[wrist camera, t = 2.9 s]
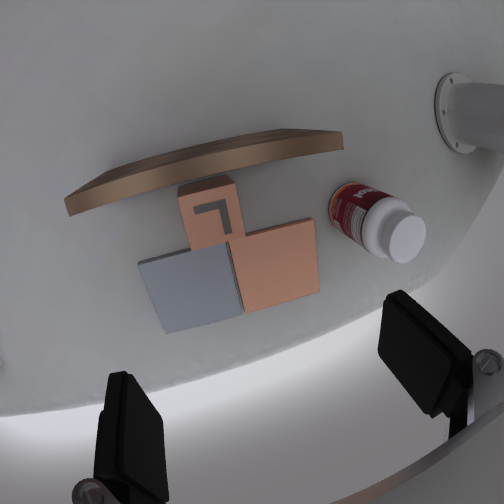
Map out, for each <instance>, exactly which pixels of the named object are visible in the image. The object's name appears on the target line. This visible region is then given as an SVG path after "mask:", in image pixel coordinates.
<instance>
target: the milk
mask: <svg viewBox="0 0 504 504" xmlns="http://www.w3.org/2000/svg"><path fill="white" fill-rule="evenodd" d="M3 362H4V360H3V357H2V354H1V350H0V367H1V365H2V363H3Z"/></svg>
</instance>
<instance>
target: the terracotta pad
mask: <svg viewBox="0 0 504 504" xmlns="http://www.w3.org/2000/svg"><path fill="white" fill-rule="evenodd" d="M245 235H246V237H244V238H240V239H236V240H232V241H228V243H229V247H230V251H231V256H232V260H233V264H234V269H235V273H236V277H237V281H238V286H239V290H240V294H241V298H242V302H243V307H244V310H245V313H250V312H253V311H257V310H260V309H264V308H267V307H271V306H274V305H277V304H281V303H284V302H287V301H291V300H294V299H297V298H300V297H304V296H307V295H310V294H313V293H316V292H320V291H319V276H318V263H317V250H316V239H315V228H314V220H313V219H312V218H307V219H303V220H299V221H295V222H291V223H287V224H283V225H279V226H275V227H271V228H267V229H263V230H259V231H255V232H251V233H247V234H245Z"/></svg>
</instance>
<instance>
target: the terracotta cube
mask: <svg viewBox="0 0 504 504" xmlns="http://www.w3.org/2000/svg"><path fill="white" fill-rule="evenodd" d="M177 199H178V203H179V207H180V211H181V214H182V218H183V222H184V225H185V229H186V233H187V236H188V240H189V243H190V247H191V250H192V251H194V250H198V249H202V248H205V247H209V246H213V245H217V244H221V243H224V242H228V241H232V240H236V239H240V238H244V237H246V235H245V230H244V225H243V220H242V215H241V210H240V205H239V200H238V195H237V190H236V185H235V183H234V182H233V181H232V180H231V179H230V178H229V177H228V176H227V175H223V176H219V177H215V178H210V179H206V180H202V181H198V182H194V183H190V184H187V185H183V186H179V187H178V193H177Z"/></svg>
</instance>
